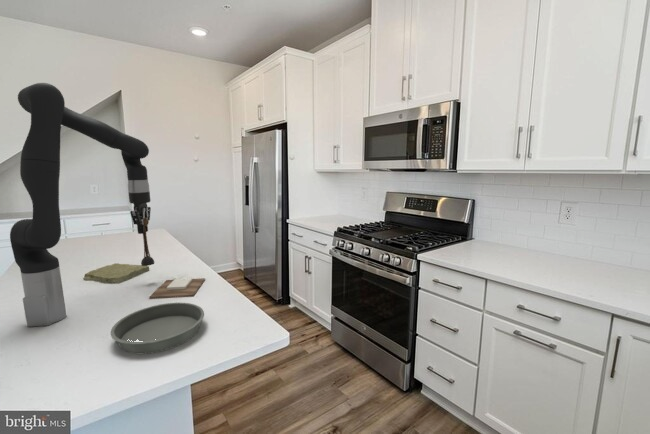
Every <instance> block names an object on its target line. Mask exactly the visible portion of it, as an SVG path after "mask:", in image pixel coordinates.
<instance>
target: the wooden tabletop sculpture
mask: <svg viewBox="0 0 650 434" xmlns="http://www.w3.org/2000/svg"><path fill="white" fill-rule="evenodd" d="M149 221H150V220H149ZM149 221H148V219H147V218H144V219H143V225H144V233H143V234H142V239H143V251H144V252H143V255H144V256H143V258H142V259H141V262H140V265H142V266H152V265H154V264H155V260H154V258H153V257H152V256H151V254H150V249H149V244H148V237H147V232H146V229H145V226H147V225H149Z"/></svg>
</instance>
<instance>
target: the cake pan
mask: <svg viewBox="0 0 650 434" xmlns="http://www.w3.org/2000/svg"><path fill="white" fill-rule="evenodd" d="M204 317H205V311H204V309H203V308H202V307H201V306H199V305H197V304H194V303H190V302H168V303H167V302H166V303H161V304H155V305H151V306H148V307H144V308H141V309H139V310H136V311H133V312H131V313H130V314H128V315H125V316H124V317H122V318H120V319H119V320H118V321H117V322H116V323H114V325H113V326H112V328H111V330H110V336H111V338H112V339H113V340H114V341H115V342H117V343H118V345H119V347H120V348H121V349H122V351H125V352H127V353H130V352H132V353H131V354H138V353H143V354H152V352H154V353H159V352H163V351H167V350H170V349H172V348H175V347H177V346H180V345H182V344H184V343H186V342H187V341H189V340H191V339H192V338H194V337H195V335H197V334H198V332H199V330H200V327H201V326H200V325H201V322H202V321H203V319H204ZM128 339H129V340H130V341H131V340H132V341H133V342H132V341H131V342H130V341H129V340H128ZM137 339H138V340H139V341H143V342H134V341H136V340H137ZM155 339H156V340H155ZM127 340H128V341H127ZM158 351H159V352H158Z"/></svg>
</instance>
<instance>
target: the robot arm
mask: <svg viewBox="0 0 650 434" xmlns="http://www.w3.org/2000/svg"><path fill="white" fill-rule="evenodd" d="M17 101H18V104H19V105H20V106H21V108H22V109H23V110H24V111H26V112H27V113H29V114H30V128H29V130H28V134H27V136H26V139H25V140H24V144H23V147H22V149H21V154H20V162H19V163H20V164H19V165H20V167H19V169H20V170H19V173H20V174H19V175H20V179H21V181H22V184H23V186H24V187H25V190H26V191H27V193H28V195H29V197H30V200H31V204H32V218H26V219H24V218H23V219H21V220H18V221H17V222H15V223H14V224H13V225H12V227H11V229H10V232H9V239H10V241H9V242H10V245H11V246H10V247H11V249H12V254H13V257H14V261H15V263H16V265H17V266H18V267H19V270H20V276H21V280H22V281H21V282H22V288H23V293H24V294H23V295H24V297H23V298H22V302H23V308H24V309H23V310H24V316H25V320H26V326H27V327H44V326H50V325H52V324H54V323H57V322H59V321H61V320H64V319H65V318H66V317H67V310H66V301H65V296H64V289H63V281H62V275H61V268H60V261H59V258H58V257H57V256H55V255H54V254H52V253H50V252H49V249H51V248H54V247H55V246H56V245H57V244H59V241H60V239H61V236H62V224H61V214H60V173H61V128H62V126H63V127H66V128H69V129H70V130H73V131H76V132H78V133H80V134H82V135H85V136H86V137H88V138H91V139H92V140H95V141H97V142H99V143H100V144H102V145H105V146H107V147H109V148H111V149H115V150H120V153H121V157H122V160H123V163H124V165H125V168H126V177H127V192H128V201H129V203H130V204H133V210H130V211H129V212H130V217H131V219H132V222H133V225H136V228H137V234H139V235H141V234H142V235H143V233H144V225H143V219H144V218H147V219H148V221H150V220H151V207H150V206H148V203H151V193H150V184H149V177H148V170H147V167H146V165H143V164H142V161H141V160H142V159H145V158H146V157H148V155H149V153H150V149H149V146H148V145H147V144H146V143H145V142H144V141H142V140H141V139H139V138H137V137H135V136H131V135H129V134H126V133H123V132H121V131H119V130H118V129H116V128H115V127H112V126H111V125H109V124H107V123H106V122H103V121H101V120H98V119H96V118H92V117H90V116H87V115H84V114H82V113H78V112H77V111H74V110H72V109H70V108H68V107H66V106H65V105H66V104H65V97H64V95H63V94H62V92H61V91H60V89H59V88H57V87H56V85H53V84H51V83H48V82H36V83H34V84H32V85H31V84H30V85H28V86H26V87H24V88H23V89H20V91H19V92H18V95H17ZM148 225H149V224H148ZM148 225H147V226H145V229H146V233H148V232H149V228H148V227H149V226H148Z"/></svg>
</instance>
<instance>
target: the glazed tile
mask: <svg viewBox="0 0 650 434" xmlns="http://www.w3.org/2000/svg"><path fill="white" fill-rule="evenodd" d="M192 279H193V277H185V278H182V277H181V278H174V279H172V280H173V281H172V283H171V284H170V285H169V286H168V287H167V290H185V289H186V288H187V287H188V285H189V284H190V283H191V282H192Z"/></svg>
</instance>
